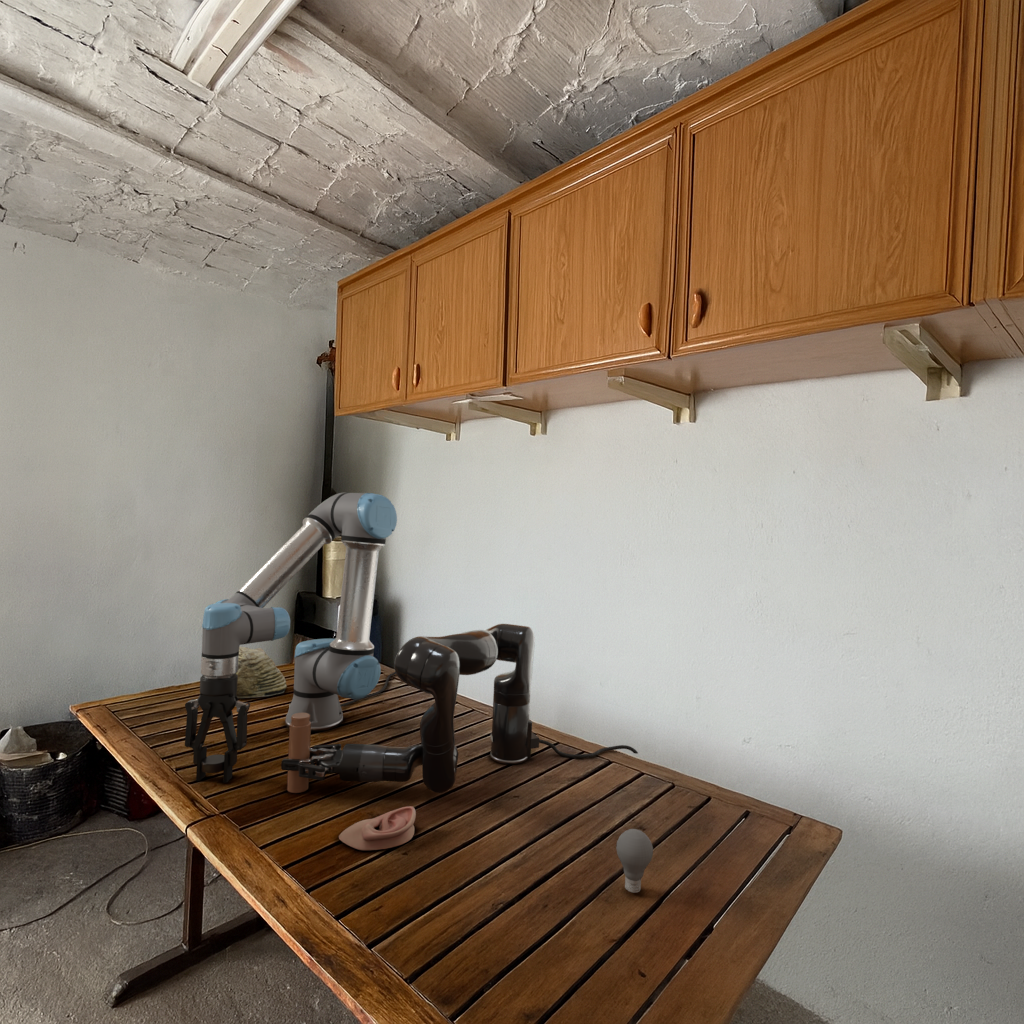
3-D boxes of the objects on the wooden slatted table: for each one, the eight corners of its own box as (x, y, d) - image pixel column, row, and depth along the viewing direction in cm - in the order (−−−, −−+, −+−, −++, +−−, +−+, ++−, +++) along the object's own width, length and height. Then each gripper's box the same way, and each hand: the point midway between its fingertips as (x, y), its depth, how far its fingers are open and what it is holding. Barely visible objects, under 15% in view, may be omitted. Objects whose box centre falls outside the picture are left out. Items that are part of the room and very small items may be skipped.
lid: (198, 773, 137) (198, 764, 137) (204, 763, 142) (205, 754, 142) (224, 772, 138) (225, 763, 138) (229, 762, 143) (230, 754, 143)
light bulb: (610, 879, 108) (613, 822, 108) (644, 879, 109) (647, 822, 109) (619, 902, 102) (622, 840, 102) (655, 901, 103) (658, 840, 103)
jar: (288, 794, 134) (291, 719, 134) (285, 785, 138) (288, 713, 138) (310, 790, 136) (313, 717, 136) (306, 782, 140) (309, 710, 140)
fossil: (218, 695, 195) (220, 647, 195) (278, 685, 208) (279, 640, 207) (228, 703, 189) (230, 653, 188) (289, 692, 201) (290, 645, 201)
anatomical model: (331, 824, 115) (359, 795, 126) (330, 845, 115) (358, 815, 126) (400, 835, 112) (422, 805, 124) (399, 857, 112) (421, 825, 124)
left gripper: (168, 676, 136) (163, 784, 136) (253, 681, 136) (248, 789, 136) (187, 667, 143) (182, 769, 144) (267, 672, 143) (262, 774, 143)
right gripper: (372, 733, 144) (297, 730, 144) (357, 759, 130) (274, 755, 130) (371, 766, 144) (296, 762, 144) (356, 795, 130) (273, 791, 130)
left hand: (214, 778), depth 140 cm, fingers closed on lid, 5 cm apart
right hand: (286, 759), depth 137 cm, fingers closed on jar, 4 cm apart
